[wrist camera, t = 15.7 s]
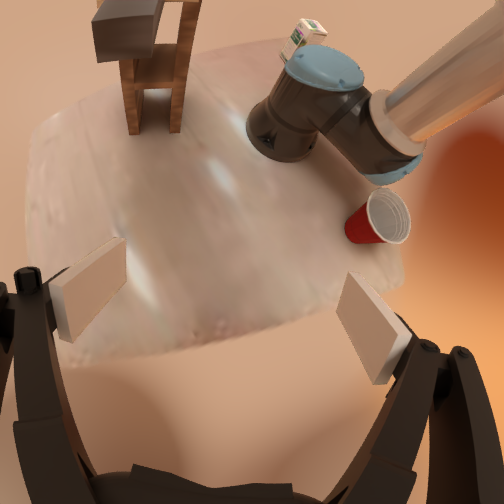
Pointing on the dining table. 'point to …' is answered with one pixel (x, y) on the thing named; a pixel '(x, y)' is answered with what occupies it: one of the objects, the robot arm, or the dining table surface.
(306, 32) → the syrup box
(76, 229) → the dining table surface
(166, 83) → the walnut shelf
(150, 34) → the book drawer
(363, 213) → the plastic cup
